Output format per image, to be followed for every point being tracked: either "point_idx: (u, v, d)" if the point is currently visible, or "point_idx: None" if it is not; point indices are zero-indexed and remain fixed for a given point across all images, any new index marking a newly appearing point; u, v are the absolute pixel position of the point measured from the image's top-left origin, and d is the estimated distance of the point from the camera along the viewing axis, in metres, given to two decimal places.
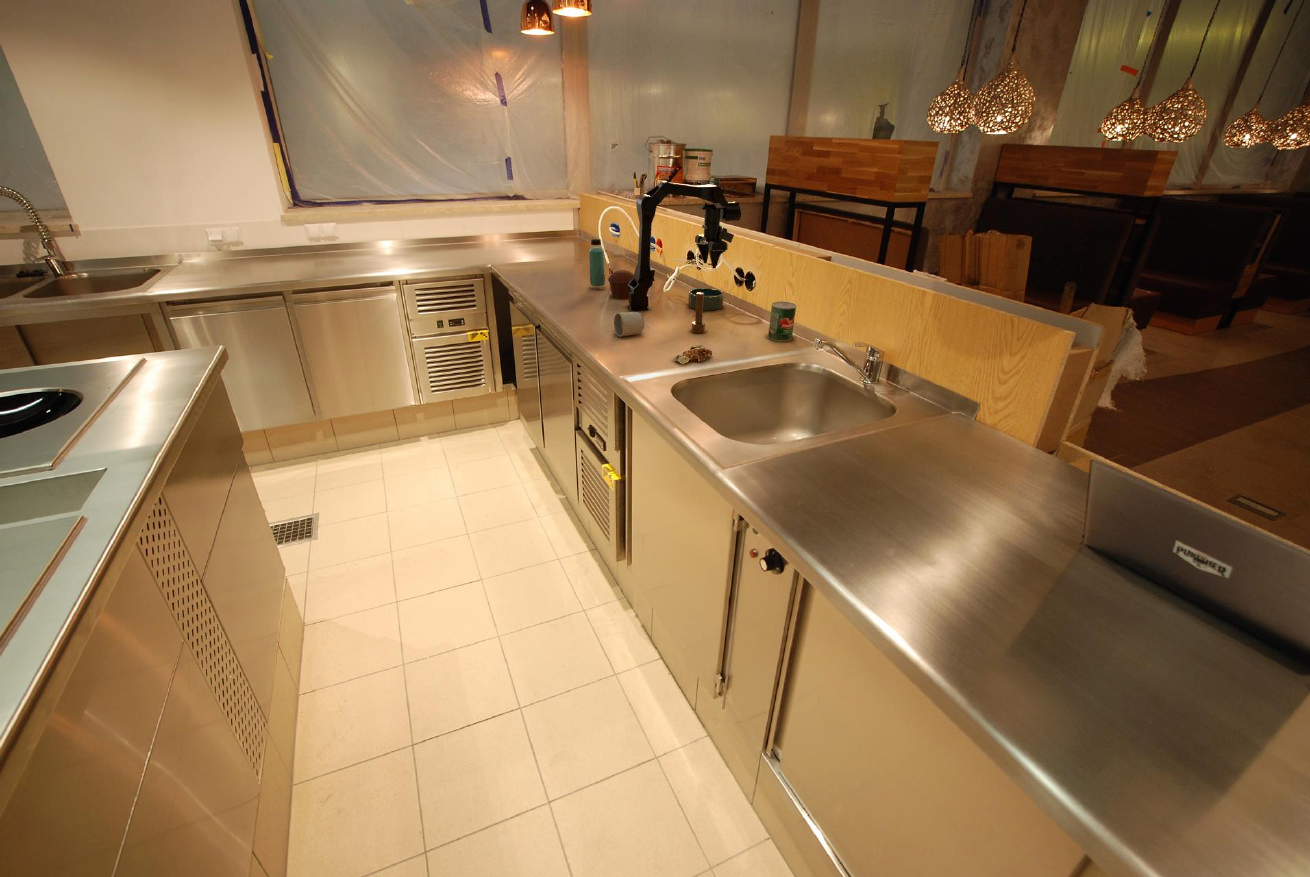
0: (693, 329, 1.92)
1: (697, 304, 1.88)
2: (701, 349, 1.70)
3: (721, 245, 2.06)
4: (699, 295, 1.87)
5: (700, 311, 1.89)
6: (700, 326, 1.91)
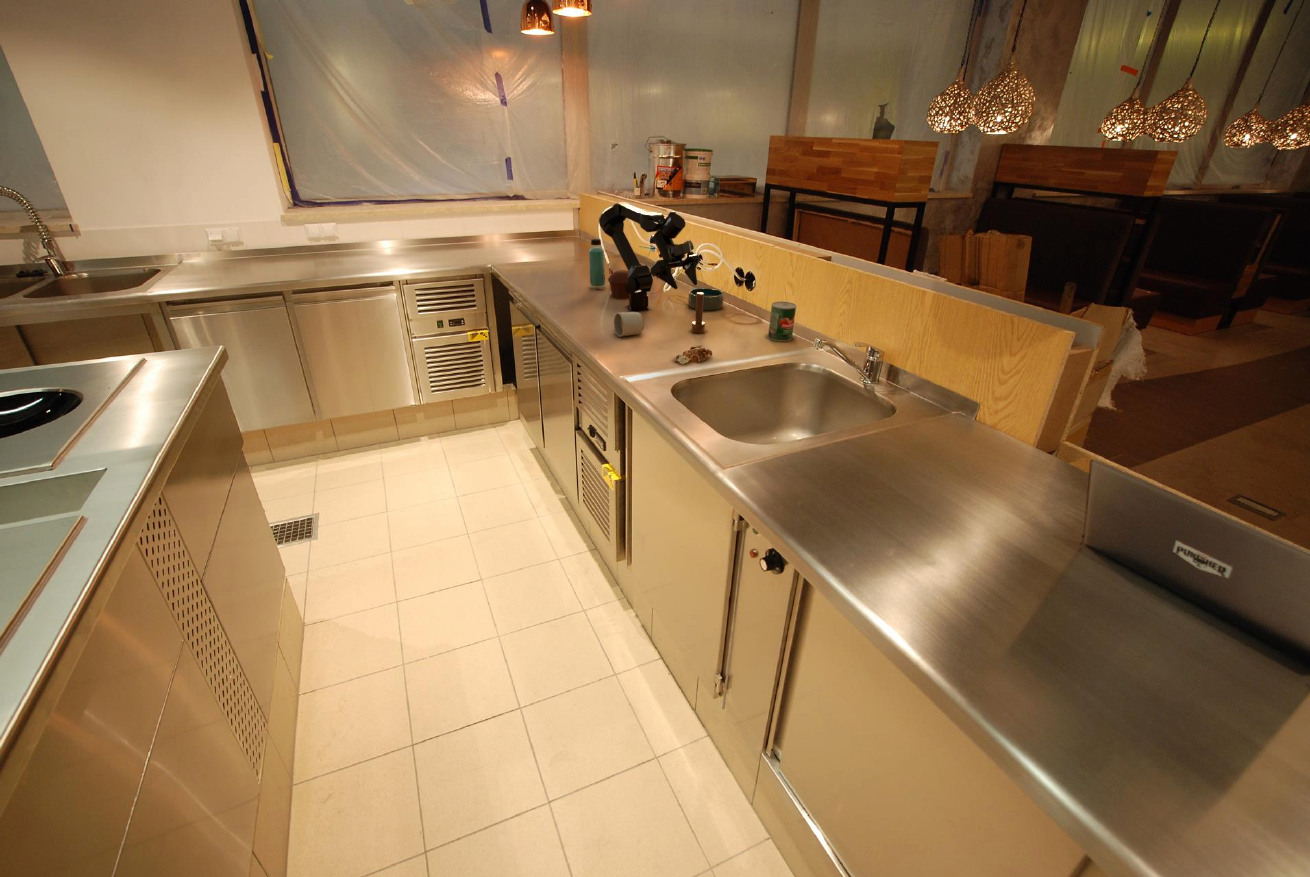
0: (693, 329, 1.92)
1: (697, 304, 1.88)
2: (701, 349, 1.70)
3: (654, 266, 1.89)
4: (699, 295, 1.87)
5: (700, 311, 1.89)
6: (700, 326, 1.91)
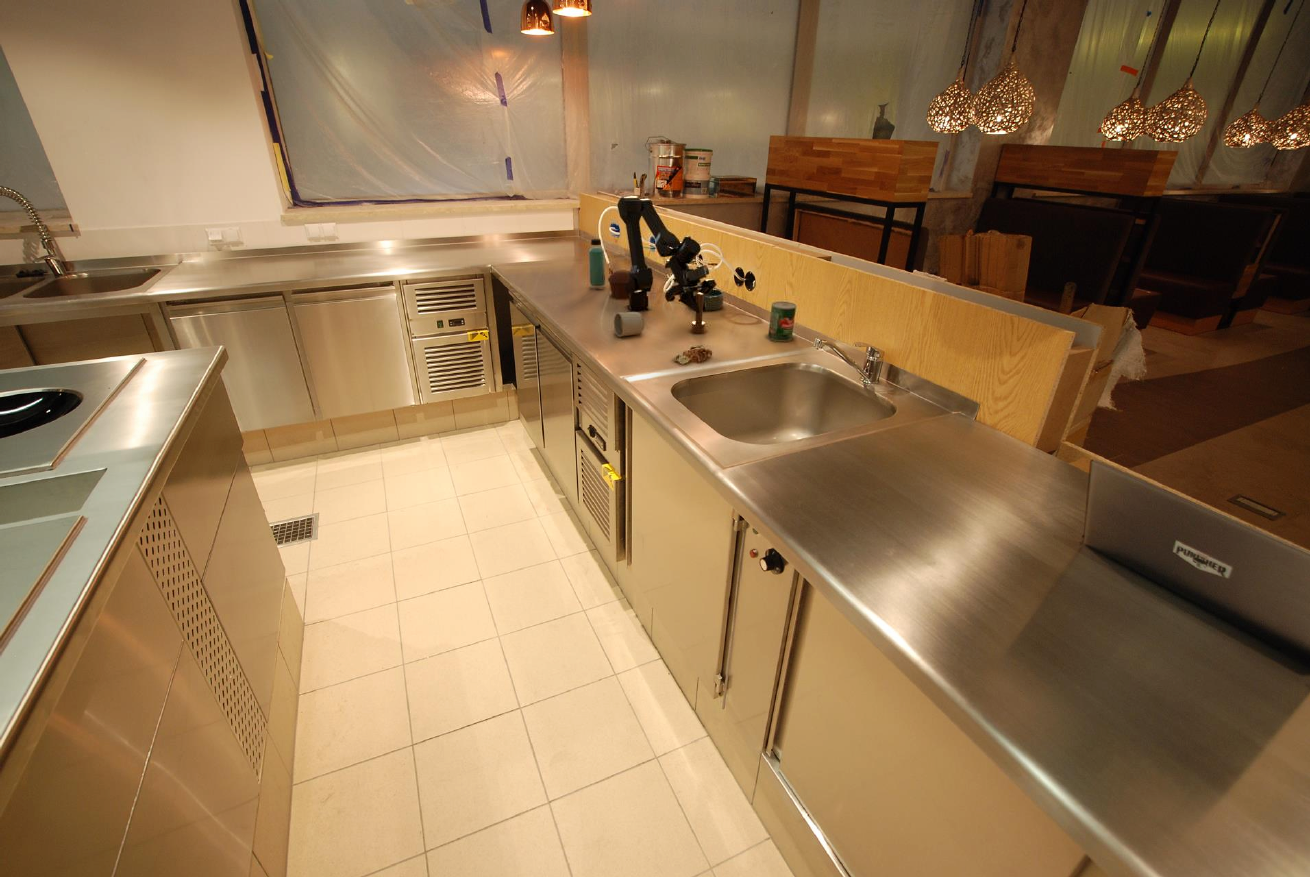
0: (693, 329, 1.92)
1: (697, 304, 1.88)
2: (701, 349, 1.70)
3: (669, 292, 1.85)
4: (699, 295, 1.87)
5: (700, 311, 1.89)
6: (700, 326, 1.91)
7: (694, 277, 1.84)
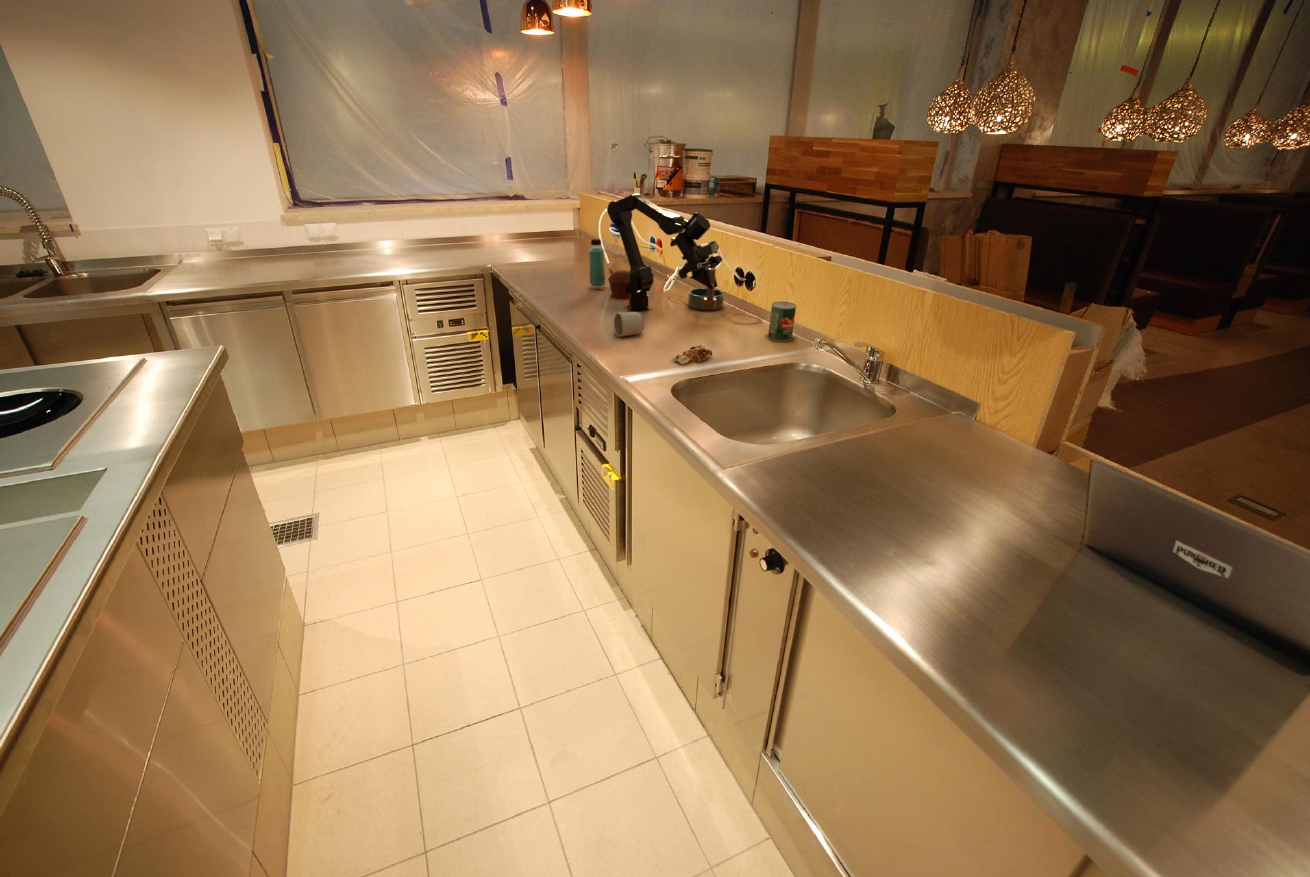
0: (706, 305, 1.94)
1: (710, 279, 1.91)
2: (701, 349, 1.70)
3: (684, 268, 1.86)
4: (712, 271, 1.89)
5: None
6: (713, 301, 1.93)
7: (707, 253, 1.86)
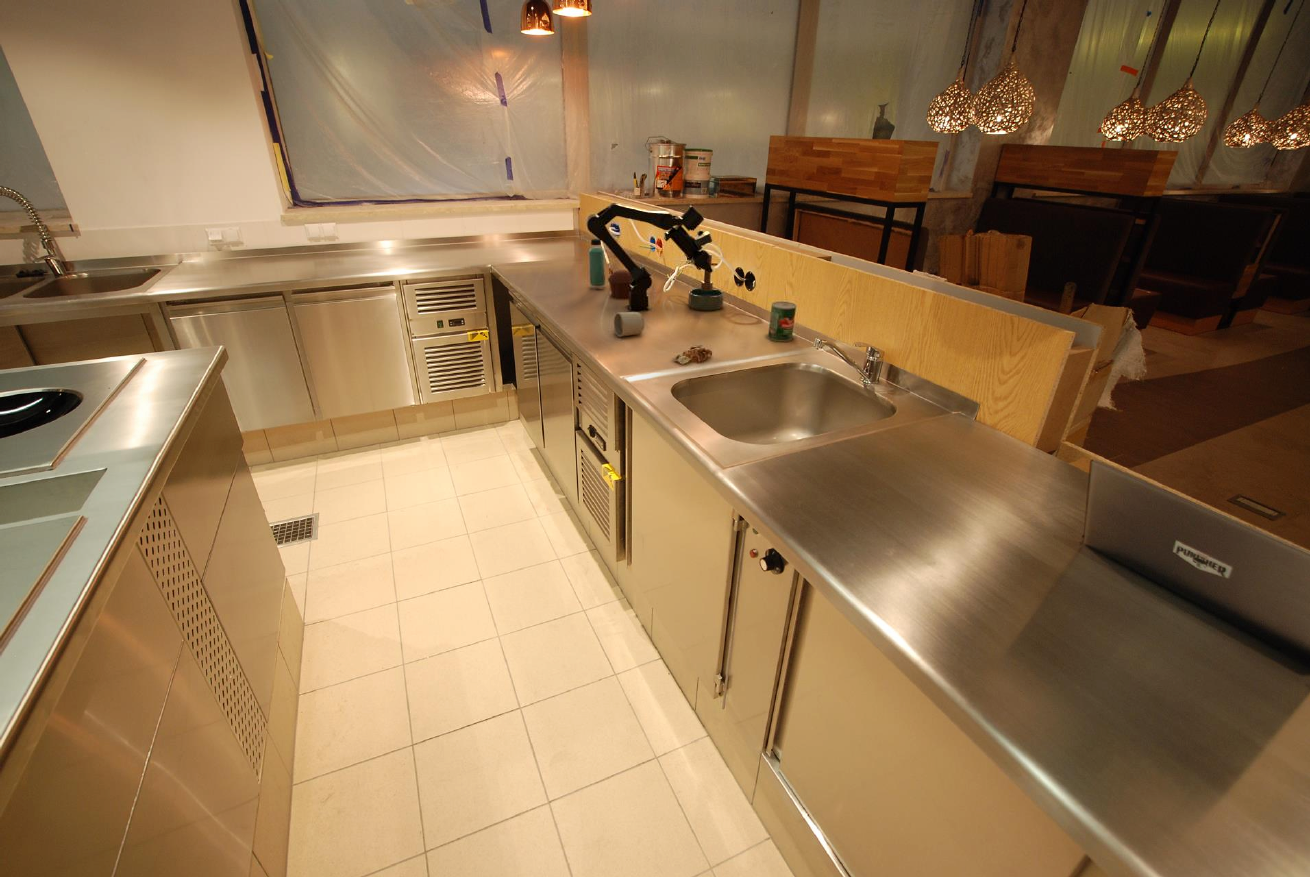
0: (708, 288, 2.15)
1: None
2: (701, 349, 1.70)
3: (701, 258, 2.03)
4: (711, 256, 2.11)
5: None
6: (712, 284, 2.16)
7: (709, 241, 2.07)
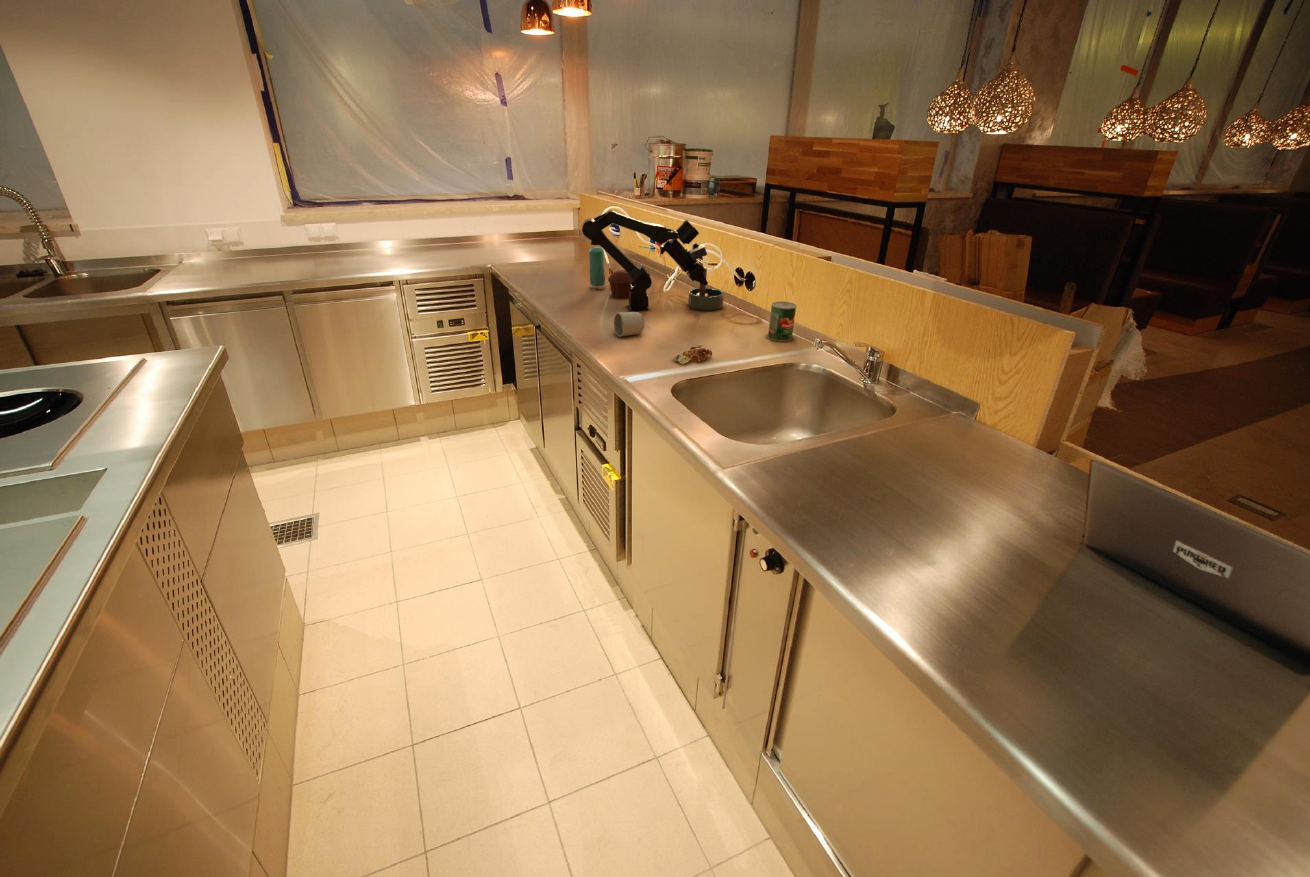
0: None
1: None
2: (701, 349, 1.70)
3: (697, 271, 2.04)
4: (706, 269, 2.13)
5: None
6: (707, 296, 2.18)
7: (704, 254, 2.08)
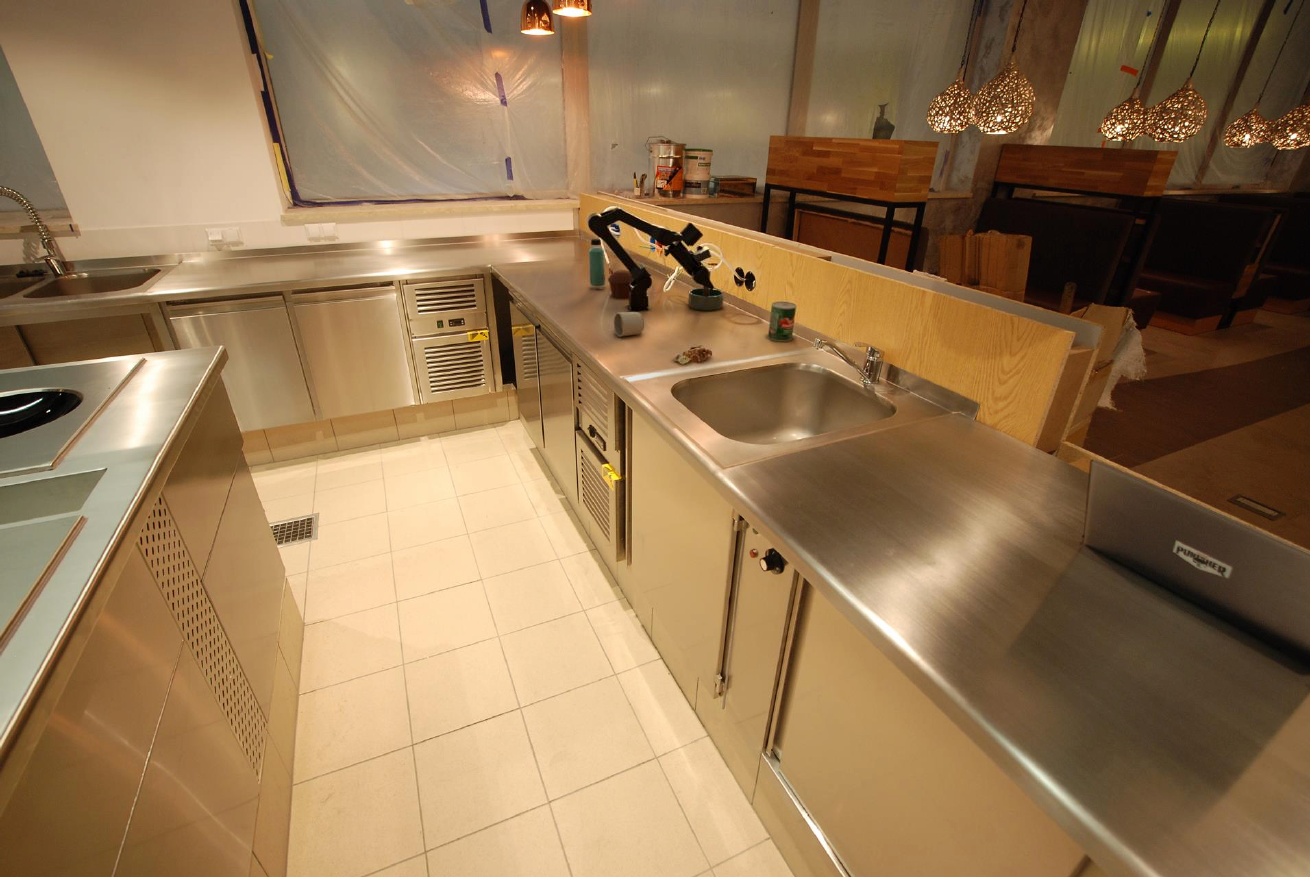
0: None
1: None
2: (701, 349, 1.70)
3: (701, 273, 2.05)
4: (709, 272, 2.14)
5: None
6: None
7: (708, 256, 2.10)
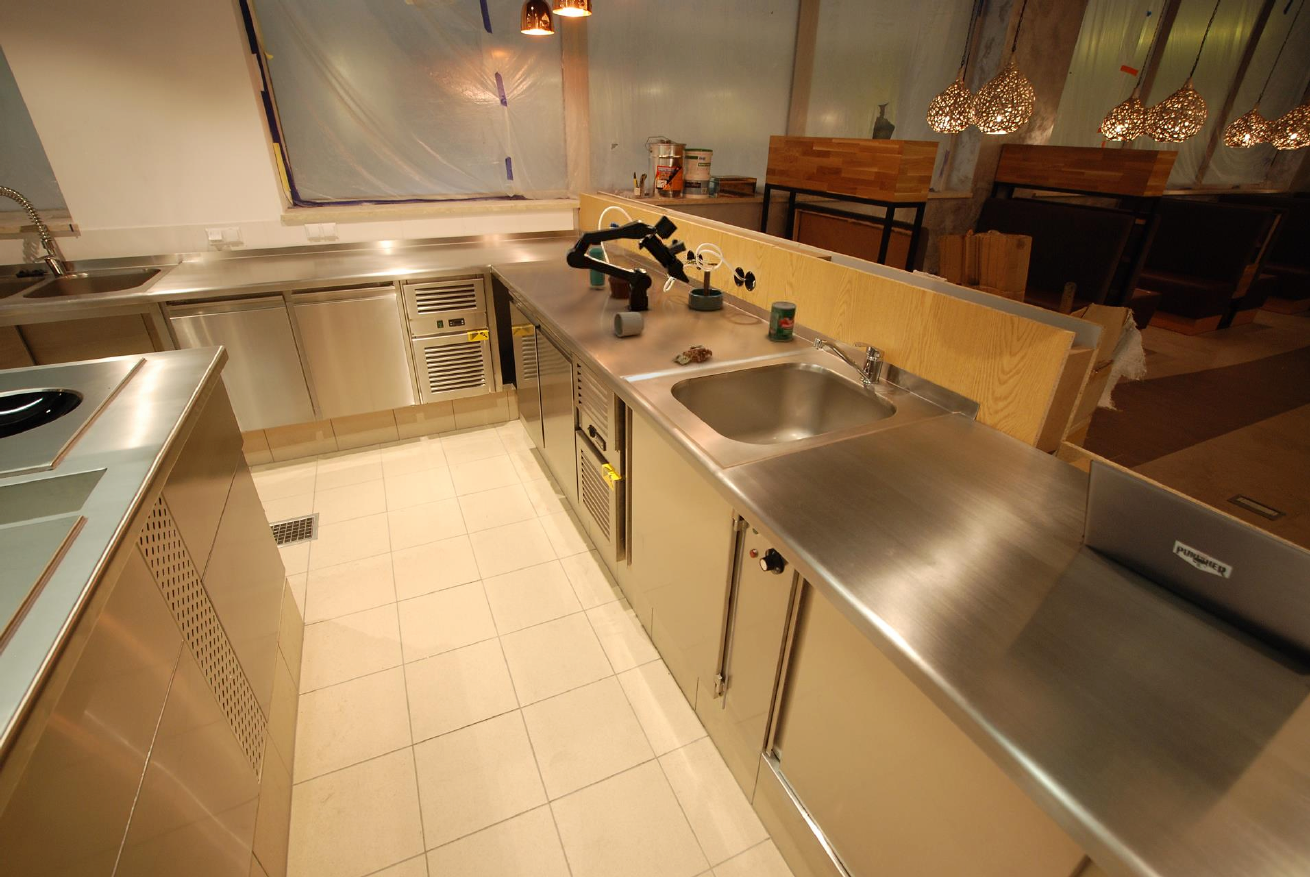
0: None
1: (708, 280, 2.15)
2: (701, 349, 1.70)
3: (675, 266, 2.03)
4: (709, 272, 2.14)
5: (709, 286, 2.17)
6: None
7: (683, 249, 2.07)
